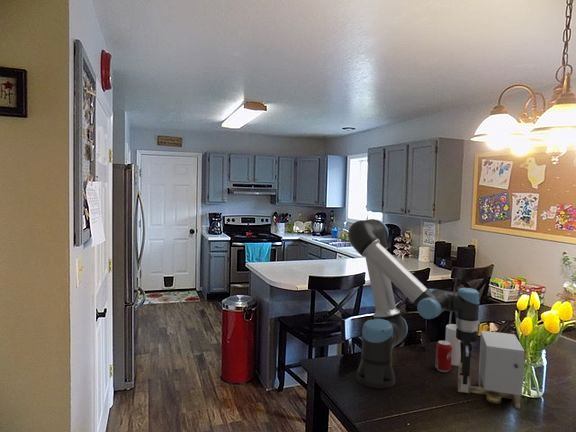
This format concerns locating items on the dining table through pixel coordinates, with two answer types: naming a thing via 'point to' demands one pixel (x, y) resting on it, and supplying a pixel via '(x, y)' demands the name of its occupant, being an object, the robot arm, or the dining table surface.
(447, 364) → the beverage can
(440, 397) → the dining table surface
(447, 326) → the cup
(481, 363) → the cabinet
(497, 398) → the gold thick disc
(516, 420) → the dining table surface
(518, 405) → the block
